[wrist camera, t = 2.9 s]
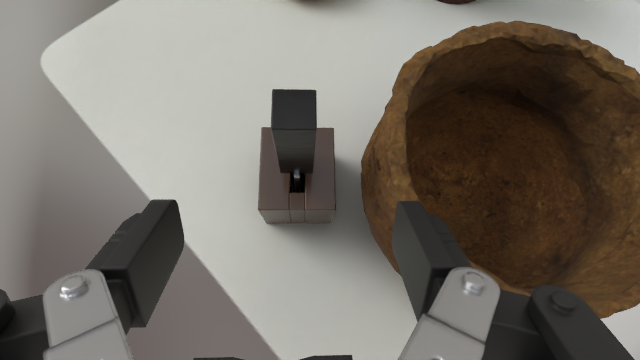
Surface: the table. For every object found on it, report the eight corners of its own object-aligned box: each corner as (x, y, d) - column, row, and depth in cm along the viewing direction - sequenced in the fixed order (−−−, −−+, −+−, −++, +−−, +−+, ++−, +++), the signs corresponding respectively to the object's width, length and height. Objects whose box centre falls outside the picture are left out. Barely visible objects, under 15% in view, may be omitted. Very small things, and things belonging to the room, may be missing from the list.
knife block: (266, 223, 32) (257, 210, 26) (268, 153, 34) (261, 127, 28) (330, 223, 32) (335, 210, 26) (328, 153, 34) (333, 127, 28)
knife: (285, 202, 33) (270, 134, 18) (286, 172, 33) (272, 84, 19) (311, 202, 33) (316, 134, 18) (310, 172, 34) (316, 84, 19)
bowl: (431, 86, 37) (510, -37, 23) (575, 209, 34) (775, 154, 19) (306, 204, 33) (307, 143, 18) (458, 359, 29) (605, 430, 15)
